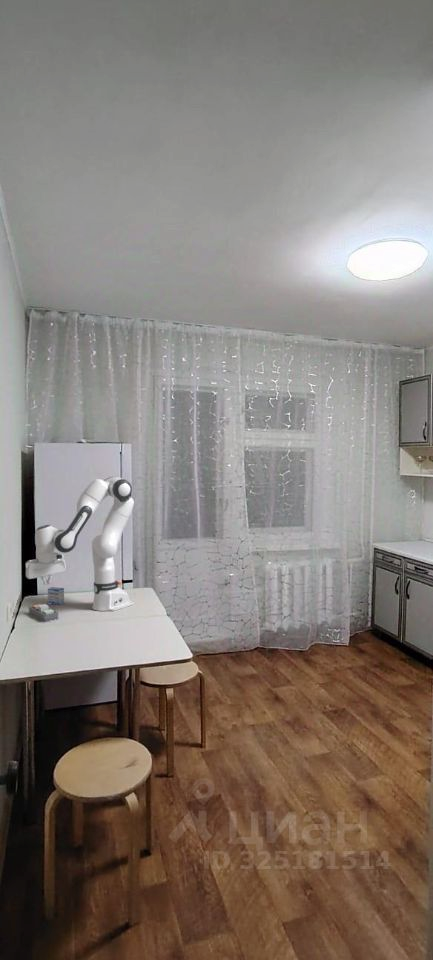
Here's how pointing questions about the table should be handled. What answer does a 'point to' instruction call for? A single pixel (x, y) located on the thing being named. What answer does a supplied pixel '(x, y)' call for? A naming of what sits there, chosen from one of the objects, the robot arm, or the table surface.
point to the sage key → (48, 611)
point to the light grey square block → (43, 607)
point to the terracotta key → (36, 606)
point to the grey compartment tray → (43, 616)
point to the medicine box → (56, 595)
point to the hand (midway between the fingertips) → (47, 584)
